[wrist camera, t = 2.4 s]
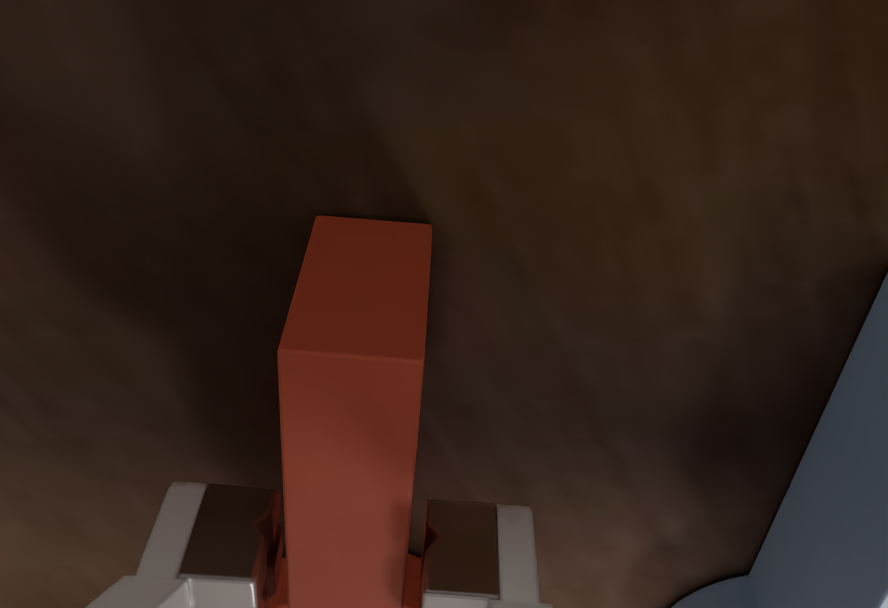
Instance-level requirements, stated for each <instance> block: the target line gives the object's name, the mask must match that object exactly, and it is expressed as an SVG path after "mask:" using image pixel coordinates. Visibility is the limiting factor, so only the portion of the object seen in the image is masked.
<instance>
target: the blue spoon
mask: <svg viewBox="0 0 888 608" xmlns="http://www.w3.org/2000/svg"><path fill="white" fill-rule="evenodd" d="M671 608H888V272H887V274H886V277H885V279H884V281H883V283H882V285H881V288H880V290H879V292H878V294H877V296H876V299H875V301H874V303H873V305H872V307H871V309H870V312H869V314H868V316H867V318H866V320H865V323H864V325H863V327H862V329H861V331H860V333H859V336H858V338H857V340H856V342H855V344H854V347H853V349H852V351H851V353H850V355H849V357H848V360H847V362H846V364H845V366H844V368H843V371H842V373H841V375H840V377H839V379H838V381H837V384H836V386H835V388H834V390H833V392H832V395H831V397H830V399H829V401H828V403H827V405H826V408H825V410H824V412H823V414H822V416H821V419H820V421H819V423H818V425H817V427H816V429H815V432H814V434H813V436H812V438H811V440H810V443H809V445H808V447H807V449H806V451H805V453H804V456H803V458H802V460H801V462H800V464H799V467H798V469H797V471H796V473H795V475H794V477H793V480H792V482H791V484H790V486H789V488H788V491H787V493H786V495H785V497H784V499H783V501H782V504H781V506H780V508H779V510H778V512H777V515H776V517H775V519H774V521H773V523H772V525H771V528H770V530H769V532H768V534H767V536H766V539H765V541H764V543H763V545H762V547H761V549H760V552H759V554H758V556H757V558H756V560H755V563H754V565H753V567H752V569H751V571H750V573H749V575H744V576H740V577H735V578H731V579H727V580H724V581H721V582H717V583H714V584H712V585H709V586H707V587H704V588H702V589H700V590H698V591H696V592H694V593H692V594H690V595H688V596H686V597H685V598H683V599H682V600H680V601H678V602H677V603H676V604H675V605H673V606H672V607H671Z"/></svg>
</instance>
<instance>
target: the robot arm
mask: <svg viewBox="0 0 888 608" xmlns="http://www.w3.org/2000/svg"><path fill="white" fill-rule="evenodd" d="M281 507H282V506H281V493H280V491H279V490H273V489H262V488H252V487H241V486H231V485H221V484H206V483H195V482H183V481H174V482H173V483H172V485H171V486H170V487H169V489H168V490H167V493H166V495H165V498H164V500H163V503H162V506H161V508H160V511H159V514H158V516H157V519H156V522H155V524H154V527H153V530H152V532H151V535H150V537H149V540H148V543H147V545H146V548H145V551H144V553H143V556H142V559H141V561H140V564H139V567H138V569H137V572H136V574H135V576H127V575H124V576H123V577H122V578H121V579H119V580H118V581H117V582H116V583H114V584H113V585H112V586H111V587H109V588H108V589H107V590H106V591H105V592H103V593H102V594H101V595H100V596H98V597H97V598H96V599H95V600H93V601H92V602H91V603H90V604H89V605H87V606H86V607H85V608H270V607H269V599H270V598H271V597H272V596H273V595H274V594H275V593H276V590H277V585H278V580H279V575H280V568H281V560H282V548H283V528H282V527H281V526H280V525H279V524H278V521H279V517H280V512H281ZM418 602H419V608H553V606H552V605H551V604H547V603H540V594H539V582H538V571H537V559H536V548H535V536H534V525H533V513H532V510H531V508H530V506H521V505H506V504H495V505H494V503H481V502H464V501H447V500H429V499H427V505H426V513H425V528H424V537H423V544H422V556H421V567H420V583H419V600H418Z"/></svg>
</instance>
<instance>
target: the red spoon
mask: <svg viewBox="0 0 888 608" xmlns="http://www.w3.org/2000/svg"><path fill="white" fill-rule="evenodd" d="M431 244H432V226H431V225H430V224H422V223H409V222H397V221H384V220H372V219H359V218H347V217H334V216H322V215H319V216H317V217H316V219H315V222H314V225H313V229H312V232H311V236H310V239H309V243H308V246H307V250H306V253H305V257H304V260H303V264H302V267H301V271H300V274H299V278H298V281H297V285H296V288H295V292H294V295H293V299H292V302H291V306H290V309H289V312H288V316H287V319H286V323H285V326H284V330H283V333H282V337H281V340H280V344H279V347H278V351H277V355H278V379H279V403H280V426H281V450H282V474H283V498H284V521H285V545H286V557H284V558H282V560H281V568H280V575H279V580H278V585H277V590H276V593H275V594H274V595H273V596H272V597H271V598H270V599H269V607H270V608H419V602H418V600H419V583H420V567H421V558H420V557H417V556H415V555H412V554H410V553H408V545H409V534H410V522H411V511H412V499H413V488H414V476H415V465H416V453H417V442H418V430H419V419H420V407H421V396H422V384H423V372H424V360H425V344H426V327H427V311H428V294H429V278H430V261H431Z"/></svg>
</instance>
